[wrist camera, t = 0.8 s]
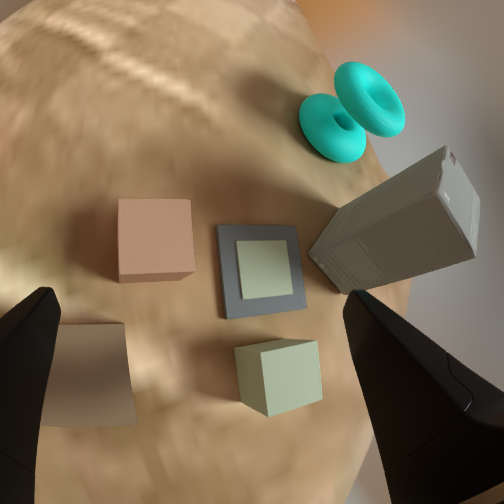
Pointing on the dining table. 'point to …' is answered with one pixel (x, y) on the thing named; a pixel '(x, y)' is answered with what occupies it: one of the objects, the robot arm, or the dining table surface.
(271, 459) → the dining table surface
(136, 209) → the terracotta cube
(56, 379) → the walnut block
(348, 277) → the skincare box
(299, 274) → the card
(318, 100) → the donuts
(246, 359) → the sage cube
